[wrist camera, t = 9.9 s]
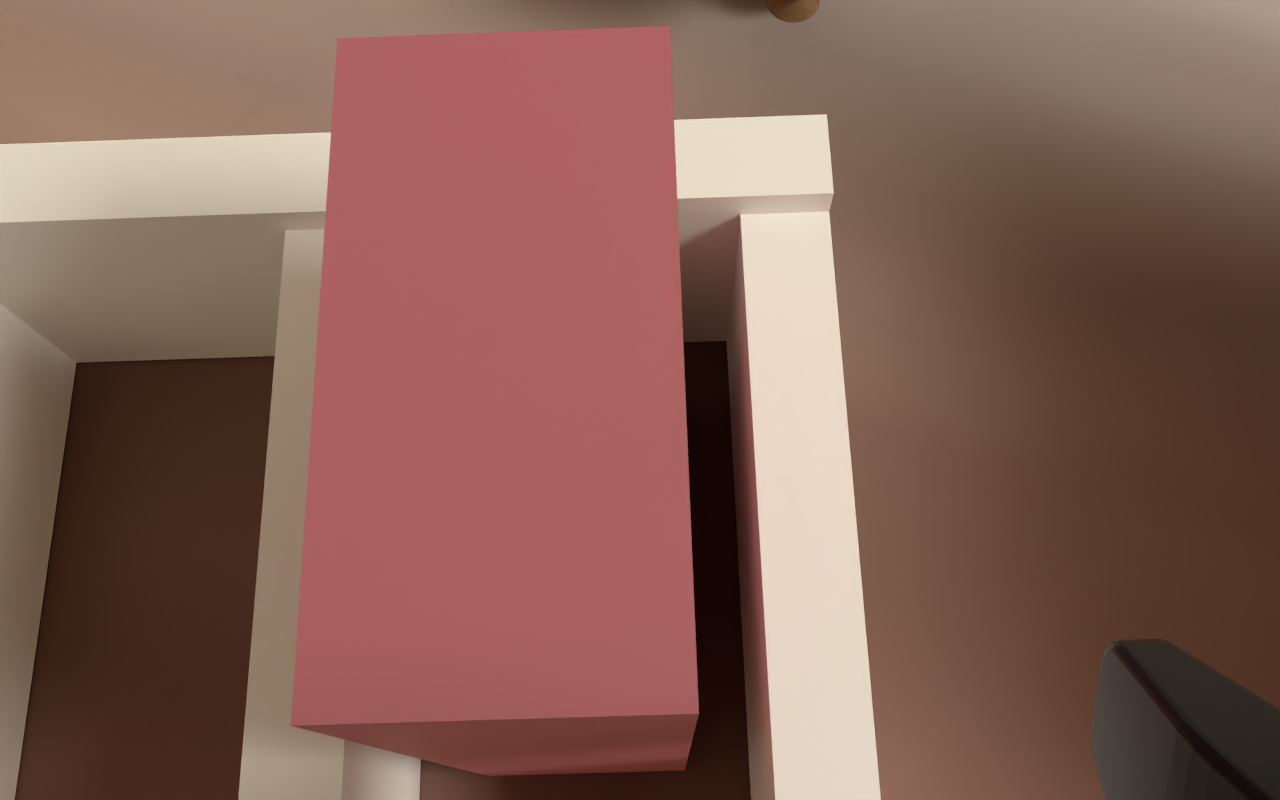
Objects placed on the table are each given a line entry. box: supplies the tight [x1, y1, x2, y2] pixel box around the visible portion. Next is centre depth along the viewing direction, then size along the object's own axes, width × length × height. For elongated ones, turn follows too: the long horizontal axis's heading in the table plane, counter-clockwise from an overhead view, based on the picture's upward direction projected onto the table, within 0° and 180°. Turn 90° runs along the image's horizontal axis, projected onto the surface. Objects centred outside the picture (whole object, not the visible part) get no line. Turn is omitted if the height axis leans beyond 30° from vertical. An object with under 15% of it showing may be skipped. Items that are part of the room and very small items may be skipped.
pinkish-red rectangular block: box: [291, 26, 699, 776], centre depth 14 cm, size 6×3×10 cm, turn 2°
